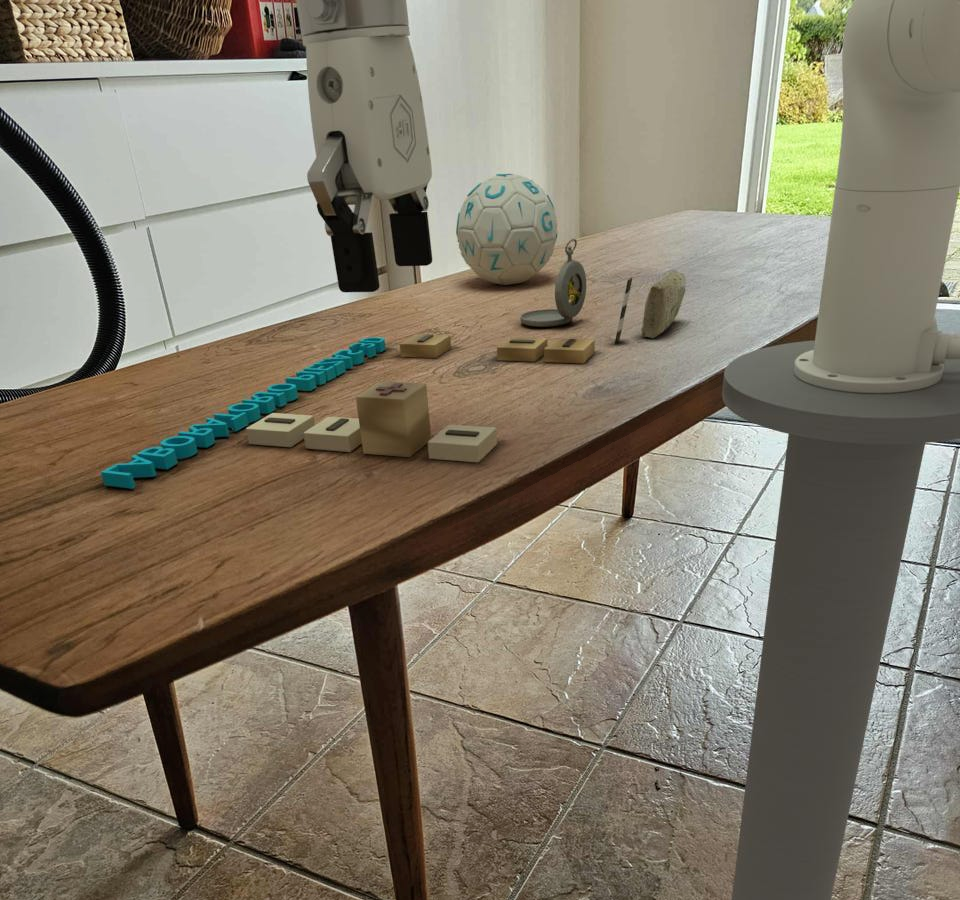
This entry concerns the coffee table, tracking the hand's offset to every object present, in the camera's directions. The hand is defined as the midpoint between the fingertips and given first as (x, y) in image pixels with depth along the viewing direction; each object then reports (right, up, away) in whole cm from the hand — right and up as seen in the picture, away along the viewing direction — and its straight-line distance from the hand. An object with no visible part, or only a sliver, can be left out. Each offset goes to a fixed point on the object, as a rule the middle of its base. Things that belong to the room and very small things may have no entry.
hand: (388, 277), depth 71 cm
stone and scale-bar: (+28, +8, +36) cm, 46 cm away
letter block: (0, -12, +7) cm, 14 cm away
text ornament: (-14, -5, +20) cm, 25 cm away
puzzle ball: (+12, +26, +67) cm, 73 cm away
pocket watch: (+17, +11, +42) cm, 47 cm away
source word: (+9, +4, +31) cm, 33 cm away
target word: (-2, -11, +8) cm, 14 cm away
